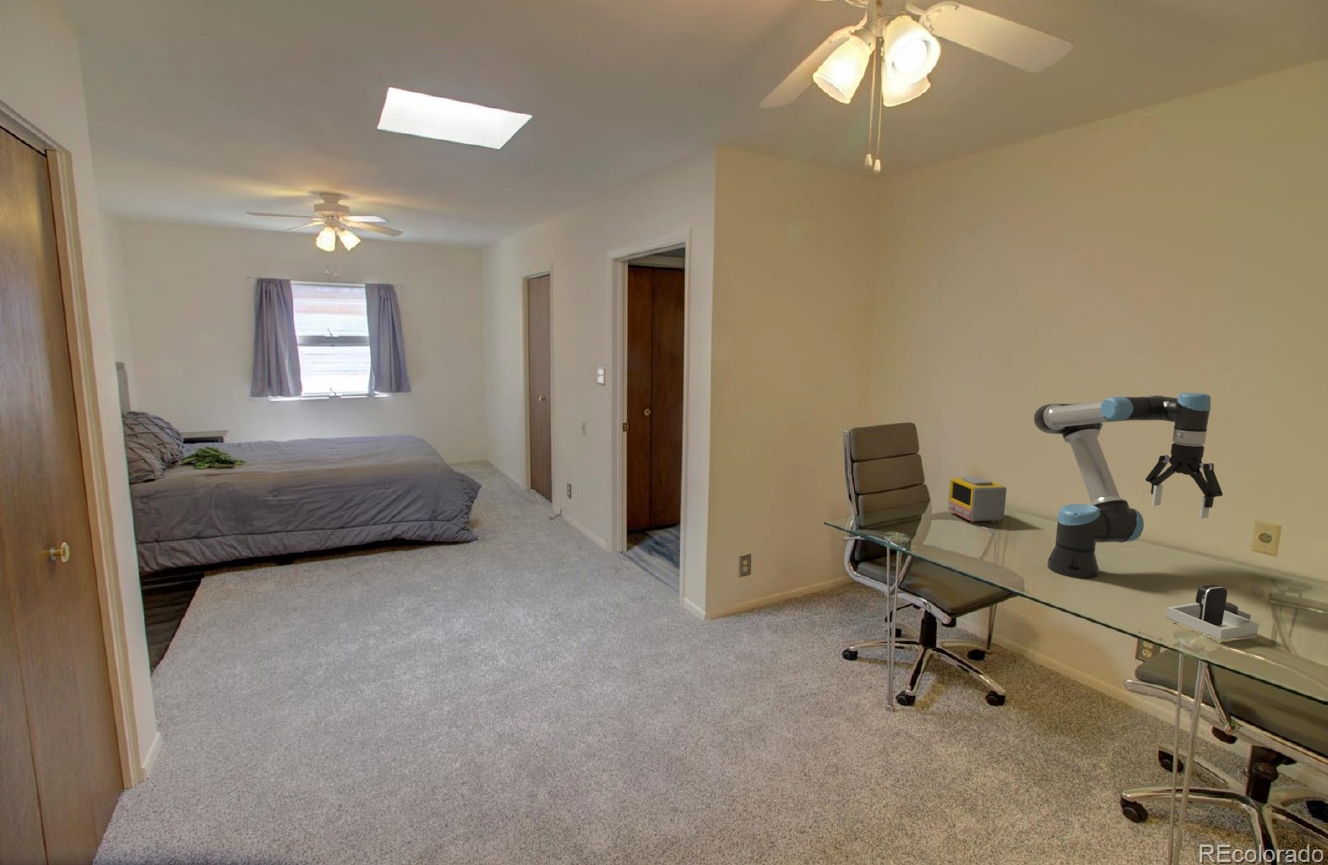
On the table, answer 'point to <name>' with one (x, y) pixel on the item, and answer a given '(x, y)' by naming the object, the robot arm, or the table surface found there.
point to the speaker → (1236, 610)
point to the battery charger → (1211, 603)
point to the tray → (1229, 629)
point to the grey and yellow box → (977, 499)
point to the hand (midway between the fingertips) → (1178, 511)
